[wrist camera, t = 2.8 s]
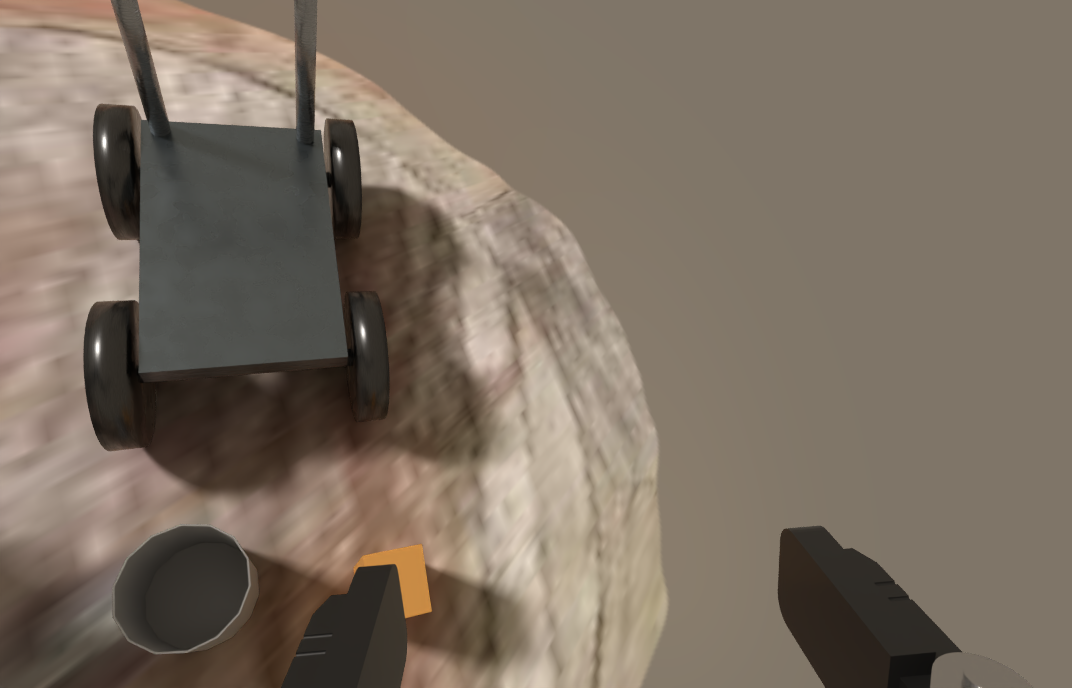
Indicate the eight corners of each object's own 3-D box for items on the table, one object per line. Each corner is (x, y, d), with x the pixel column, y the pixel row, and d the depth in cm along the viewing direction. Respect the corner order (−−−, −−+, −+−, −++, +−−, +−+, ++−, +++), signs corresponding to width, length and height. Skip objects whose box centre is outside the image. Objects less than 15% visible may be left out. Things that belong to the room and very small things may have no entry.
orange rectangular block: (411, 615, 55) (431, 611, 46) (360, 627, 53) (370, 626, 45) (403, 557, 57) (421, 543, 48) (353, 567, 55) (362, 555, 46)
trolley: (379, 434, 61) (431, 297, 36) (123, 466, 52) (-36, 318, 28) (344, 171, 72) (365, -72, 47) (129, 163, 64) (19, -134, 39)
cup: (161, 671, 48) (130, 680, 39) (131, 570, 50) (95, 557, 41) (273, 617, 52) (267, 614, 43) (241, 525, 54) (230, 504, 45)
